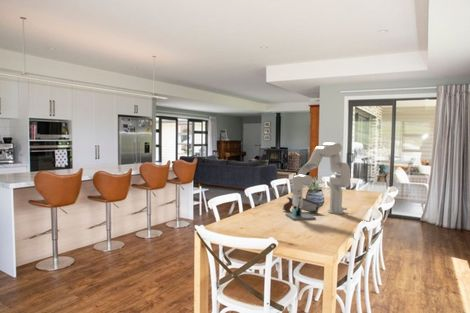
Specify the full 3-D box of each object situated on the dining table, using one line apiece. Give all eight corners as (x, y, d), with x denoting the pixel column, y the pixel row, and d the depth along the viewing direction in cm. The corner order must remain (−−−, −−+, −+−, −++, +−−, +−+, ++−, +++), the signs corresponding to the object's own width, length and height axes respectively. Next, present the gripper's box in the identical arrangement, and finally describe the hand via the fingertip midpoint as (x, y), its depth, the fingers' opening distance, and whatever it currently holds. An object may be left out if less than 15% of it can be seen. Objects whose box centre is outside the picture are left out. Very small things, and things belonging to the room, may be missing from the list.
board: (306, 214, 265) (306, 207, 265) (315, 219, 250) (315, 212, 249) (285, 215, 261) (285, 208, 261) (293, 220, 246) (293, 213, 245)
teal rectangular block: (301, 216, 253) (301, 209, 252) (294, 216, 251) (295, 210, 251) (298, 214, 258) (298, 208, 258) (292, 214, 257) (292, 208, 256)
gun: (314, 221, 270) (320, 204, 268) (282, 209, 274) (288, 192, 272) (314, 219, 274) (320, 202, 273) (282, 208, 279) (288, 191, 277)
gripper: (306, 193, 246) (306, 217, 247) (297, 189, 263) (296, 212, 264) (297, 193, 244) (296, 217, 245) (288, 189, 261) (287, 212, 262)
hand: (296, 214), depth 255 cm, fingers closed on teal rectangular block, 5 cm apart
